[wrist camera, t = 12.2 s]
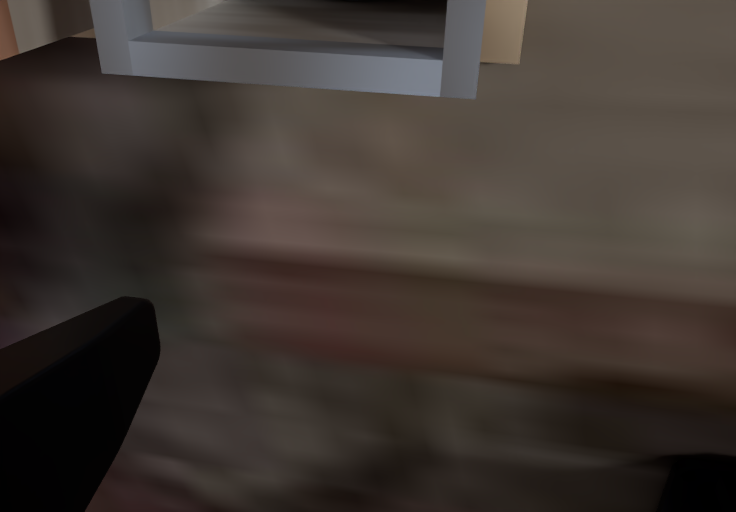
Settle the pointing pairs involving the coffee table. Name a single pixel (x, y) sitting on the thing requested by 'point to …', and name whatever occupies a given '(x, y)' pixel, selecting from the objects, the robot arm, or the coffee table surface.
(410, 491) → the coffee table surface
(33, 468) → the robot arm
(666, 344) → the coffee table surface
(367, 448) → the coffee table surface
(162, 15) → the box
